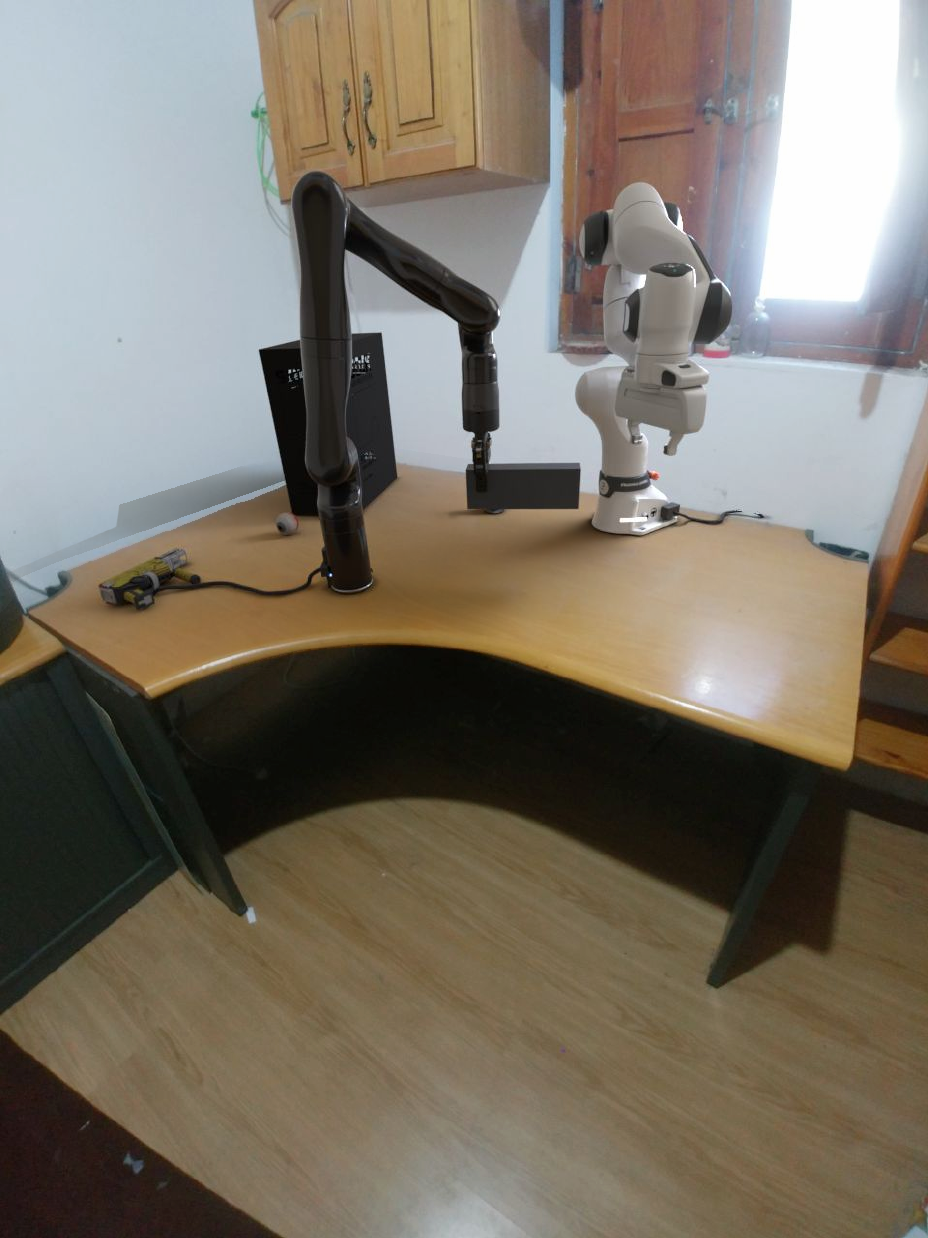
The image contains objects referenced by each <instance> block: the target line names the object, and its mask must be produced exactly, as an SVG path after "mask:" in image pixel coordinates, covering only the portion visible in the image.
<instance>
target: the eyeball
mask: <svg viewBox="0 0 928 1238" xmlns="http://www.w3.org/2000/svg"><path fill="white" fill-rule="evenodd" d="M299 525H300V522H299V519H298V517H297V515H294V514H292V512H287V511H286V512H282V513H280V514H279V515H278V516H277V517H276V520H275V527H276V529H277V530H278V531H279V532H280V533H281V534H282V535H285V536H286V535H287V536H289V535H293V534H295V533H296V532H297V531H298V529H299Z"/></svg>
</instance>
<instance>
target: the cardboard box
mask: <svg viewBox="0 0 928 1238" xmlns="http://www.w3.org/2000/svg"><path fill="white" fill-rule="evenodd" d="M351 339H352V370H351V379H350V387H349V393H348V399H347V405H346V418H345V419H346V435H347V437H348V438H349V439H350V440H351V441H352V442H353V444H354V446H355V448H356V451H357V455H358V461H359V469H360V477H361V486H362V509H363V511H364V510H365V509H367V507H368V506H369V505H370V504H371V503H372V502H373V501H374V500H375V499H377V497H379V496H380V495H381V494H382V493H383V492H384V491H385V490H386V489H387V488H389V486H390V485H392V483H394V481H396V480H397V479H398V471H397V470H398V469H397V460H396V453H395V452H396V451H395V441H394V433H393V432H394V431H393V424H392V415H391V405H390V396H389V386H388V378H387V377H388V376H387V369H386V368H387V367H386V360H385V349H384V341H383V332H358V333H356V332H355V333H352V338H351ZM258 355H259V359H260V364H261V368H262V369H261V370H262V373H263V378H264V383H265V388H266V392H267V397H268V398H267V399H268V404H269V408H270V413H271V417H272V422H273V423H272V424H273V427H274V432H275V433H274V434H275V437H276V442H277V447H278V452H279V457H280V461H281V467H282V472H283V477H284V481H285V482H284V483H285V486H286V487H285V488H286V491H287V495H288V501H289V506H290V511H291V513H292V514H294V515H295V516H318V517H319V513H318V508H317V500H318V483H316V482H315V481H314V480H313V479H312V478H311V476H310V475H309V473H308V470H307V468H306V463H305V452H306V431H307V410H306V401H305V392H304V382H303V370H302V360H301V346H300V339H296V340H292V341H288V342H285V343H280V344H276V345H272V346H268V347H264V348H260V349H258ZM362 357H363V358H362ZM356 358H357V360H356Z"/></svg>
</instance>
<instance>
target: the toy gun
mask: <svg viewBox="0 0 928 1238" xmlns="http://www.w3.org/2000/svg"><path fill="white" fill-rule="evenodd" d="M183 556H185V560H184V559H181V558H182V557H183ZM188 562H189V560H188V554H187V551H186V549H183V548H181V549H180V548H179V547H175V548H174V549H172V550H169V551H168V552H165V553H163V554H161V555H159V556H155V557H152V558H151V559H148V560H146V561H145V562H142V563H140V564H138V565H136V566H134V567H132V568H130V569H128V570H125V571H123V572H121V573H119V574H117V575H115V576H113V577H111V578H108V579H106V580H104V581H102V582H100V583H99V584H98V589H99V592H100V596H101V599H102V601H103V602H105V604H106V605H110V606H111V605H114V604H115V605H121V604H126V603H132V604H134V605H135V609H136V611H141V610H144V609H145V608H147V607H149V606H153V605H154V604H155V603H156V602H155V599H154V596H153V593H152V592H153V591H154V590H155V589H157V588H159V587H160V584H164V583H166V582H168V581H171V580H172V579H173V578H176V579H179V580H182V581H183V582H186V583H188V584H190V585H192V584H198V583H202V579H201V576H200V575H199V574H195V573H193V572H190V571H187V570H185V569H183V568H181V566H183V565H185V564H188Z"/></svg>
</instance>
